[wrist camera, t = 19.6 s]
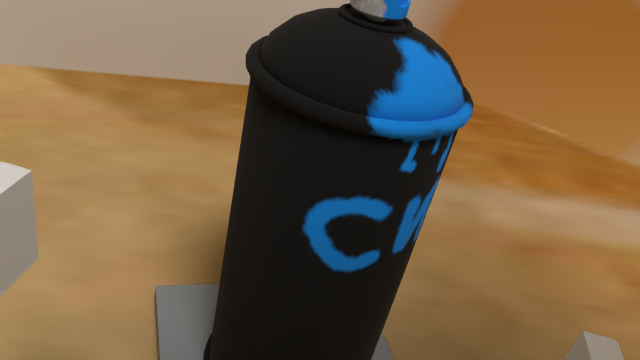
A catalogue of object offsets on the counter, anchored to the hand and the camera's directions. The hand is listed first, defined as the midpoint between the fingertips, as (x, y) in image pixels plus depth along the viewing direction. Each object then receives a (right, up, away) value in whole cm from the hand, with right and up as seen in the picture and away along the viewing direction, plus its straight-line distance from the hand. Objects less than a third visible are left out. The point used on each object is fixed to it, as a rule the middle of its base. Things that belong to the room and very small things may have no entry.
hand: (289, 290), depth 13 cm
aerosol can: (-1, -7, +15) cm, 16 cm away
